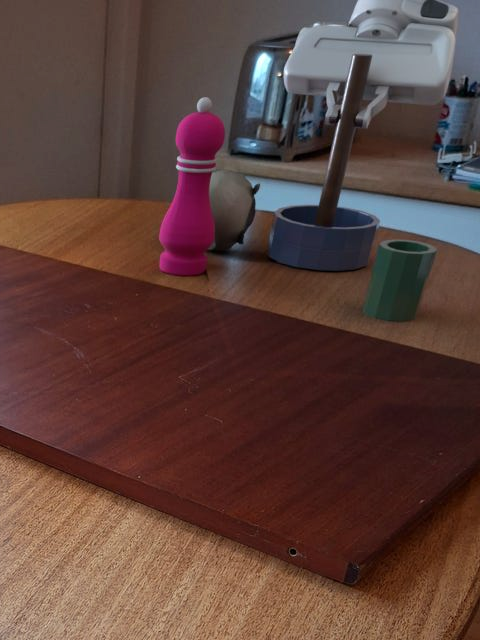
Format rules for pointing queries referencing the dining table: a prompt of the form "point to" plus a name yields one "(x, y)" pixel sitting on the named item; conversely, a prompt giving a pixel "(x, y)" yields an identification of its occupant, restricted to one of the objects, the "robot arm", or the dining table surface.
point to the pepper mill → (192, 194)
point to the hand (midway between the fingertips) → (345, 123)
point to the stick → (343, 139)
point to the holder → (398, 280)
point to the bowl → (322, 238)
